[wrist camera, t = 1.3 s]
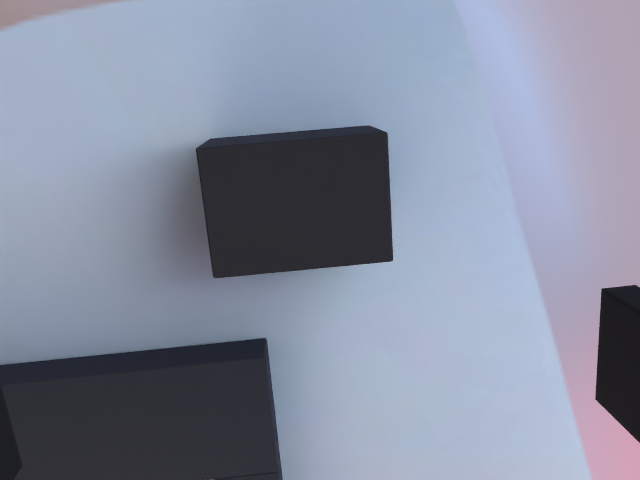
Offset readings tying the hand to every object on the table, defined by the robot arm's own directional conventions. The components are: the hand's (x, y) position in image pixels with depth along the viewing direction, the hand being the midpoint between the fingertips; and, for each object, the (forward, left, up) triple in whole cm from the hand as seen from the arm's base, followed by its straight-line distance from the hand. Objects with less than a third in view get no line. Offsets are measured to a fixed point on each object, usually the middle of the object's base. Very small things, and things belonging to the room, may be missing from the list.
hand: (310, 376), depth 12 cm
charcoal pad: (+14, -9, -13) cm, 21 cm away
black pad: (-2, 0, -13) cm, 14 cm away
